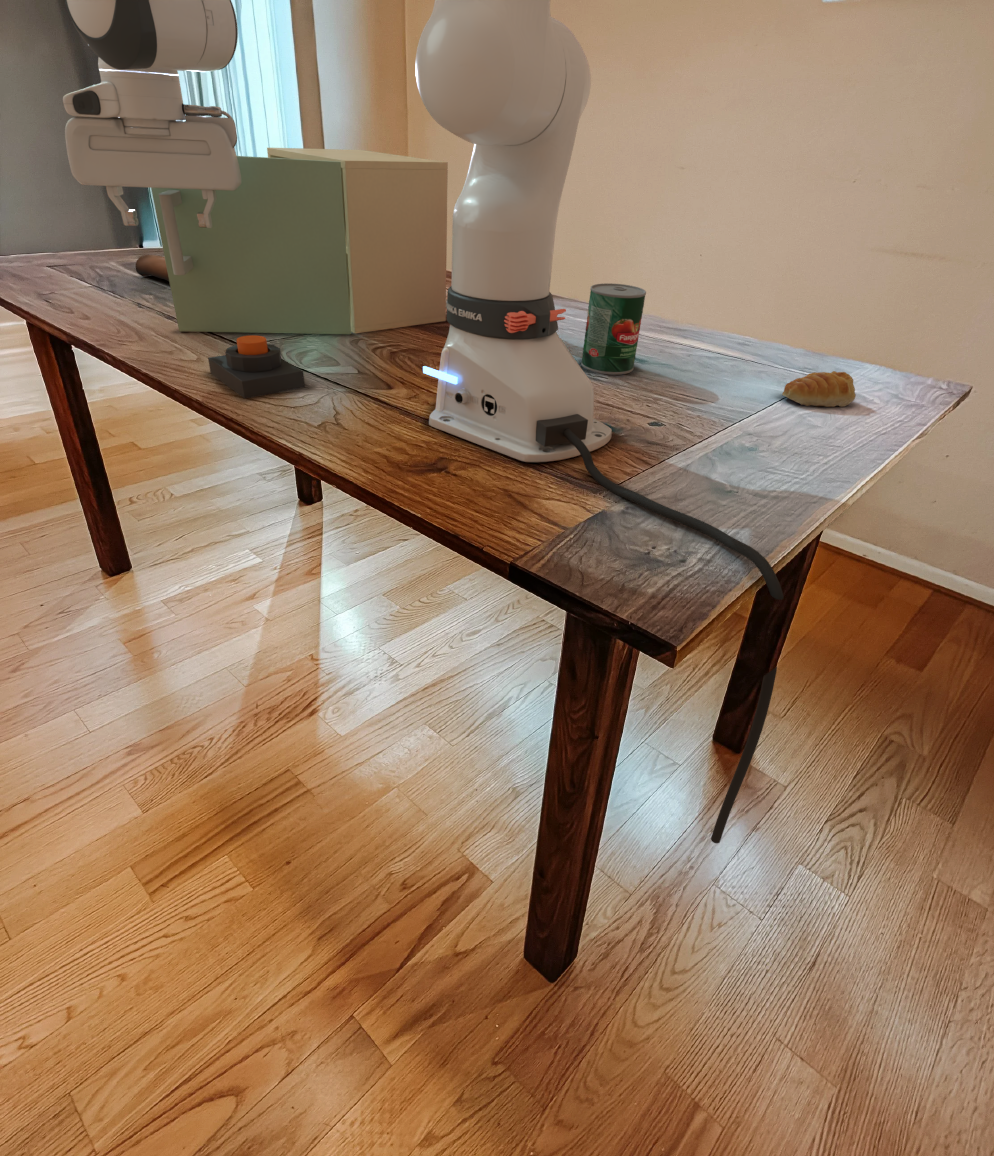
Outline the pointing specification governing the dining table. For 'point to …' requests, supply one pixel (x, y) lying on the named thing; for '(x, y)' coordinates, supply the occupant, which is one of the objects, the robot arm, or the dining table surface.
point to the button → (252, 345)
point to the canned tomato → (612, 328)
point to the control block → (256, 372)
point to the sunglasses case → (152, 266)
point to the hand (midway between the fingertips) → (169, 226)
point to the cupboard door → (260, 251)
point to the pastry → (822, 389)
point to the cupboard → (390, 235)
